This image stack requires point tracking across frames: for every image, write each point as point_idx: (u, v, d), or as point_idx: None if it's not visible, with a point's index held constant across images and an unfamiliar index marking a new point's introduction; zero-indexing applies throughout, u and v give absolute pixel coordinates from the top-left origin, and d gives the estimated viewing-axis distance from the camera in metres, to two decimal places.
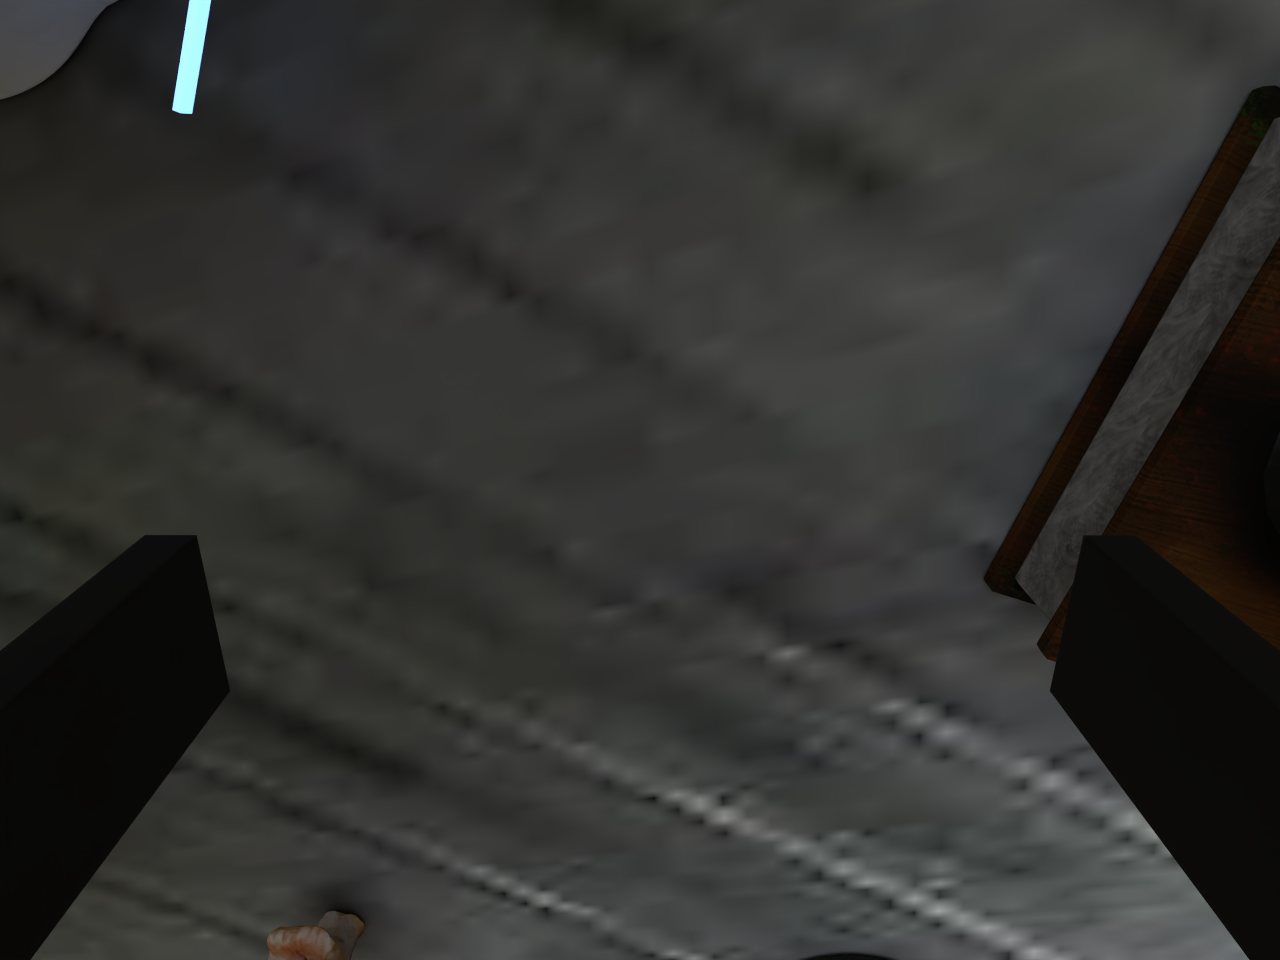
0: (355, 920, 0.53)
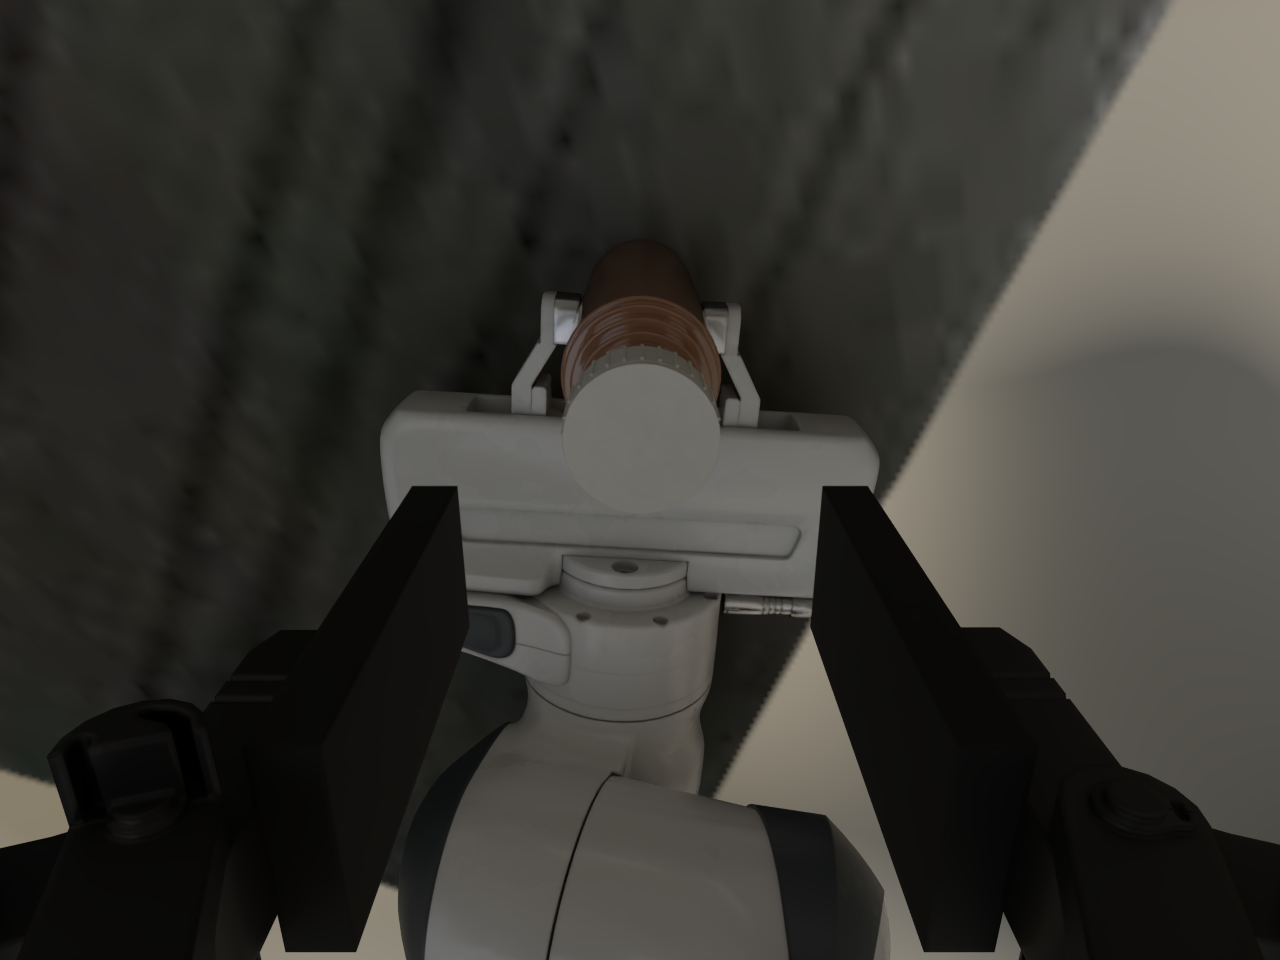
0: None
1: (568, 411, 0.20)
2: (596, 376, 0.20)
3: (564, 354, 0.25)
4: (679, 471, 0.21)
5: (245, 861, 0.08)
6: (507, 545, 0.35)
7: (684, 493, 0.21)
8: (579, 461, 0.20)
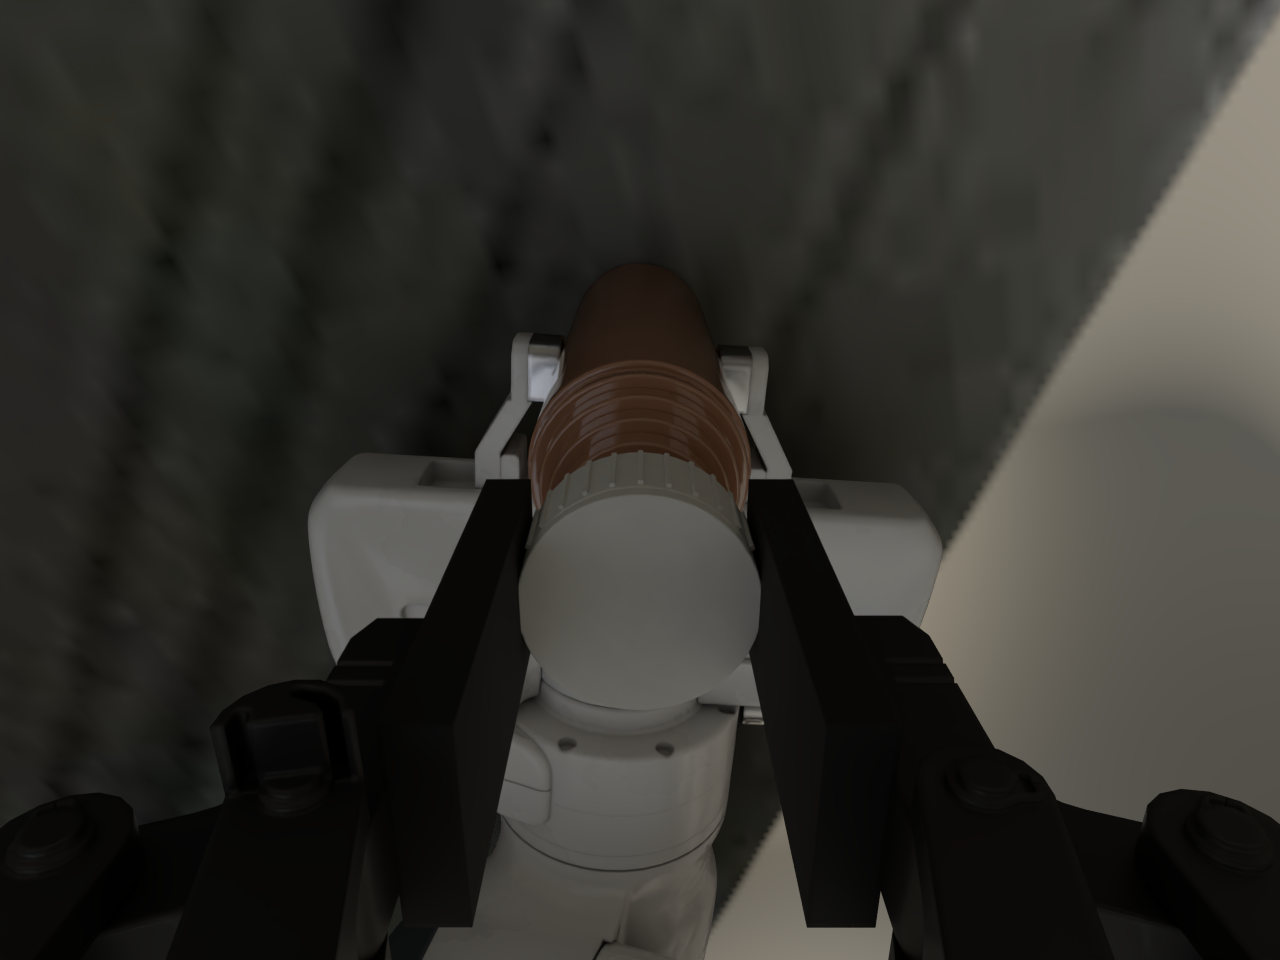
0: None
1: (525, 564, 0.13)
2: (568, 513, 0.12)
3: (532, 439, 0.18)
4: (698, 651, 0.13)
5: (379, 837, 0.08)
6: None
7: (705, 682, 0.14)
8: (543, 637, 0.13)
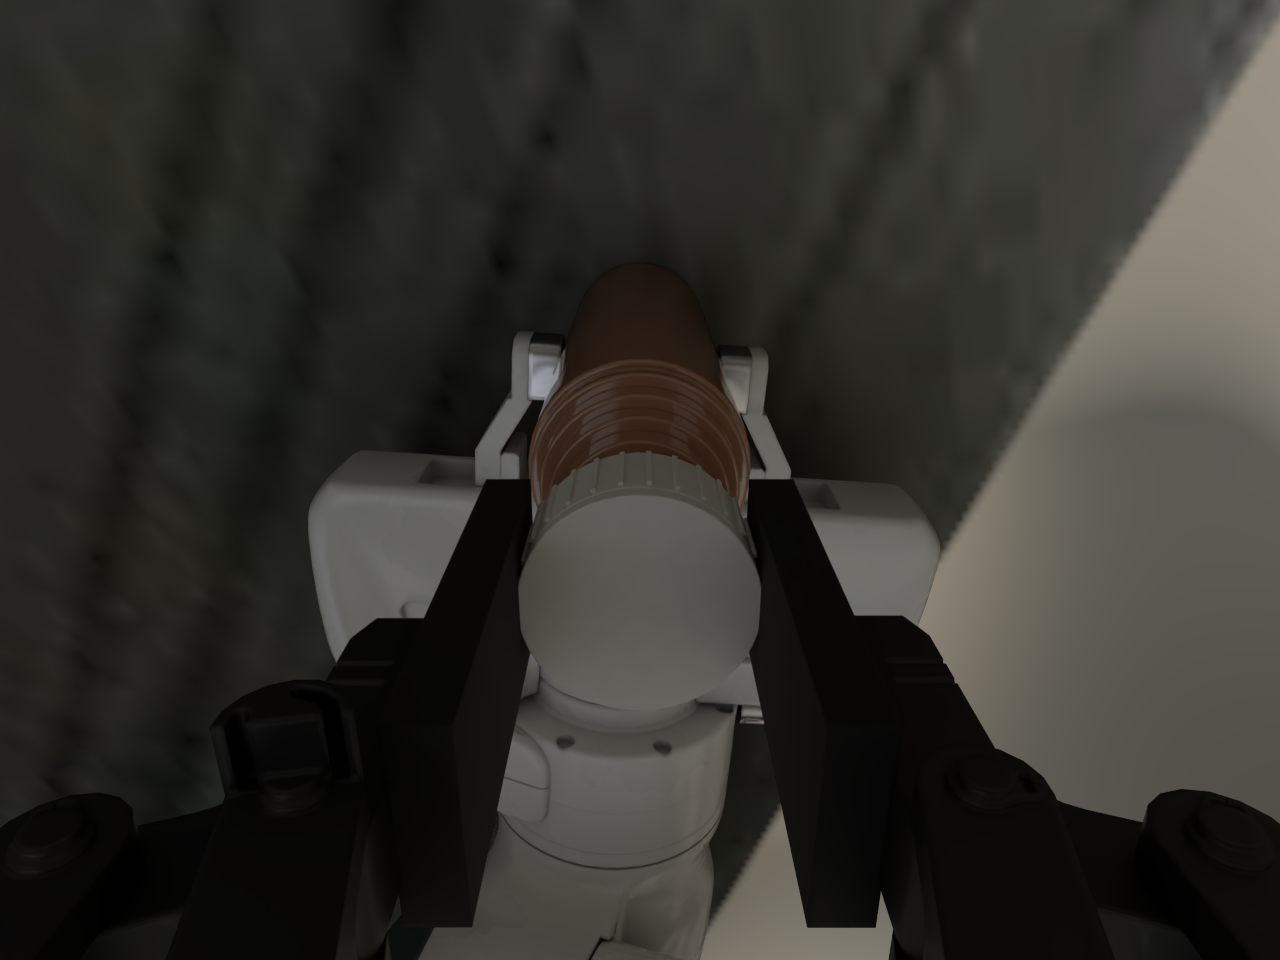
0: None
1: (587, 697, 0.14)
2: (536, 658, 0.13)
3: (533, 437, 0.18)
4: (695, 558, 0.13)
5: (379, 837, 0.08)
6: None
7: (734, 553, 0.13)
8: (665, 691, 0.14)
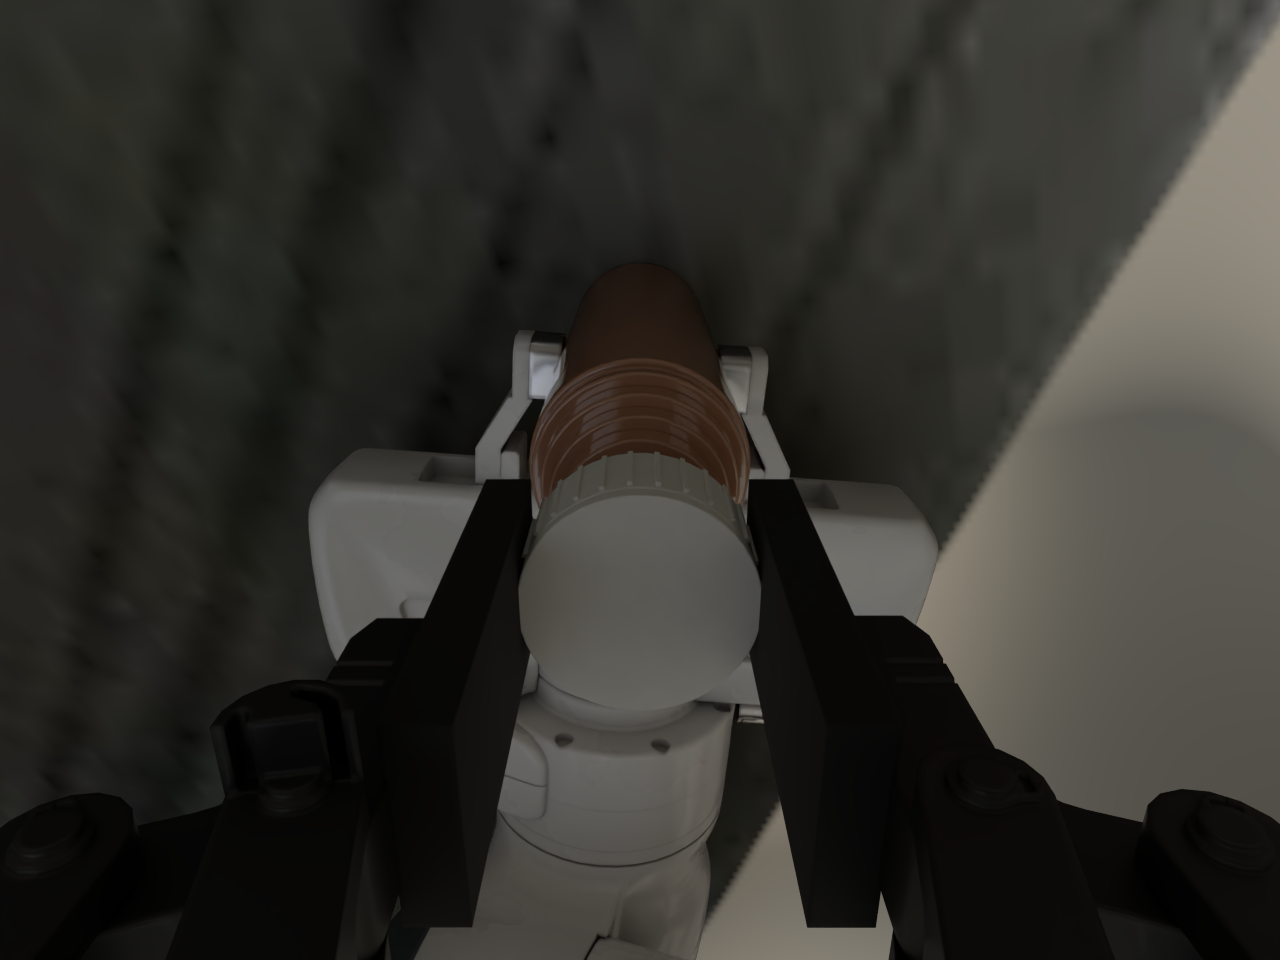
0: None
1: (741, 659, 0.13)
2: (690, 698, 0.14)
3: (534, 435, 0.18)
4: (585, 556, 0.13)
5: (379, 836, 0.08)
6: None
7: (581, 521, 0.12)
8: (741, 591, 0.13)
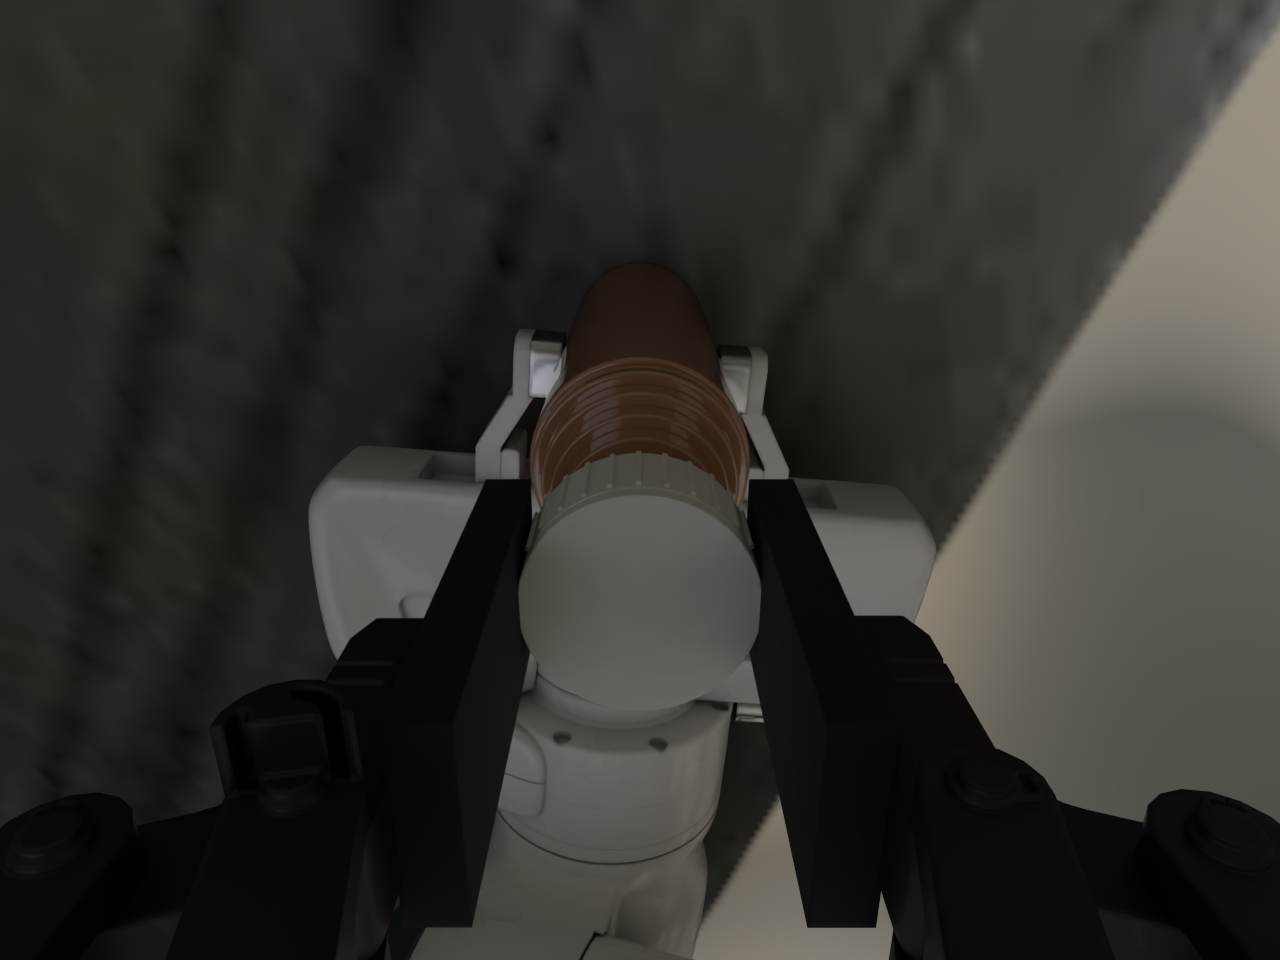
0: None
1: (711, 516, 0.12)
2: (755, 566, 0.13)
3: (535, 433, 0.18)
4: (579, 650, 0.13)
5: (379, 836, 0.08)
6: None
7: (542, 651, 0.13)
8: (626, 516, 0.12)
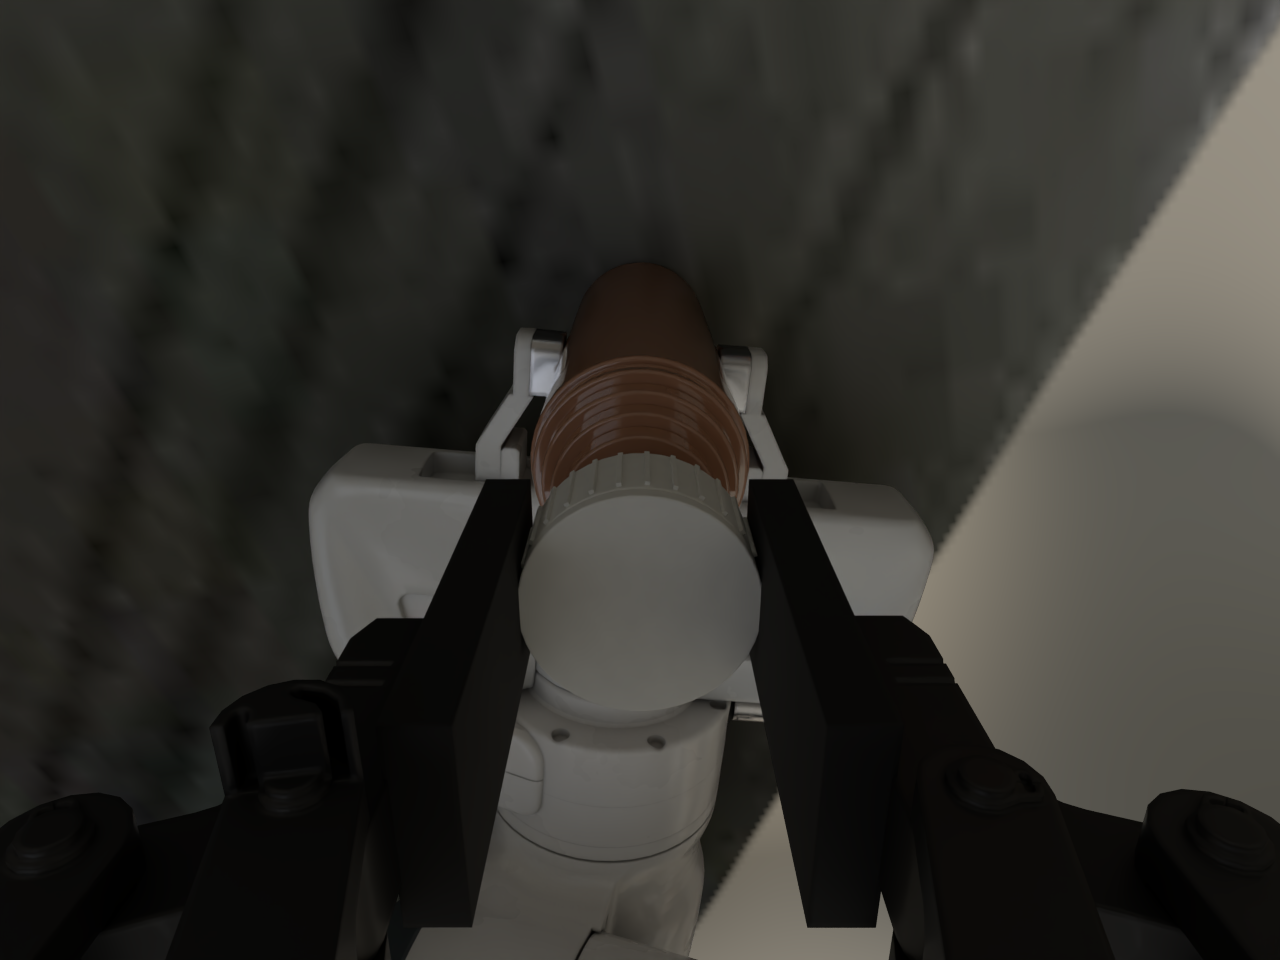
0: None
1: (541, 539, 0.13)
2: (600, 500, 0.12)
3: (536, 431, 0.19)
4: (682, 664, 0.13)
5: (378, 837, 0.08)
6: None
7: (680, 695, 0.14)
8: (537, 614, 0.13)
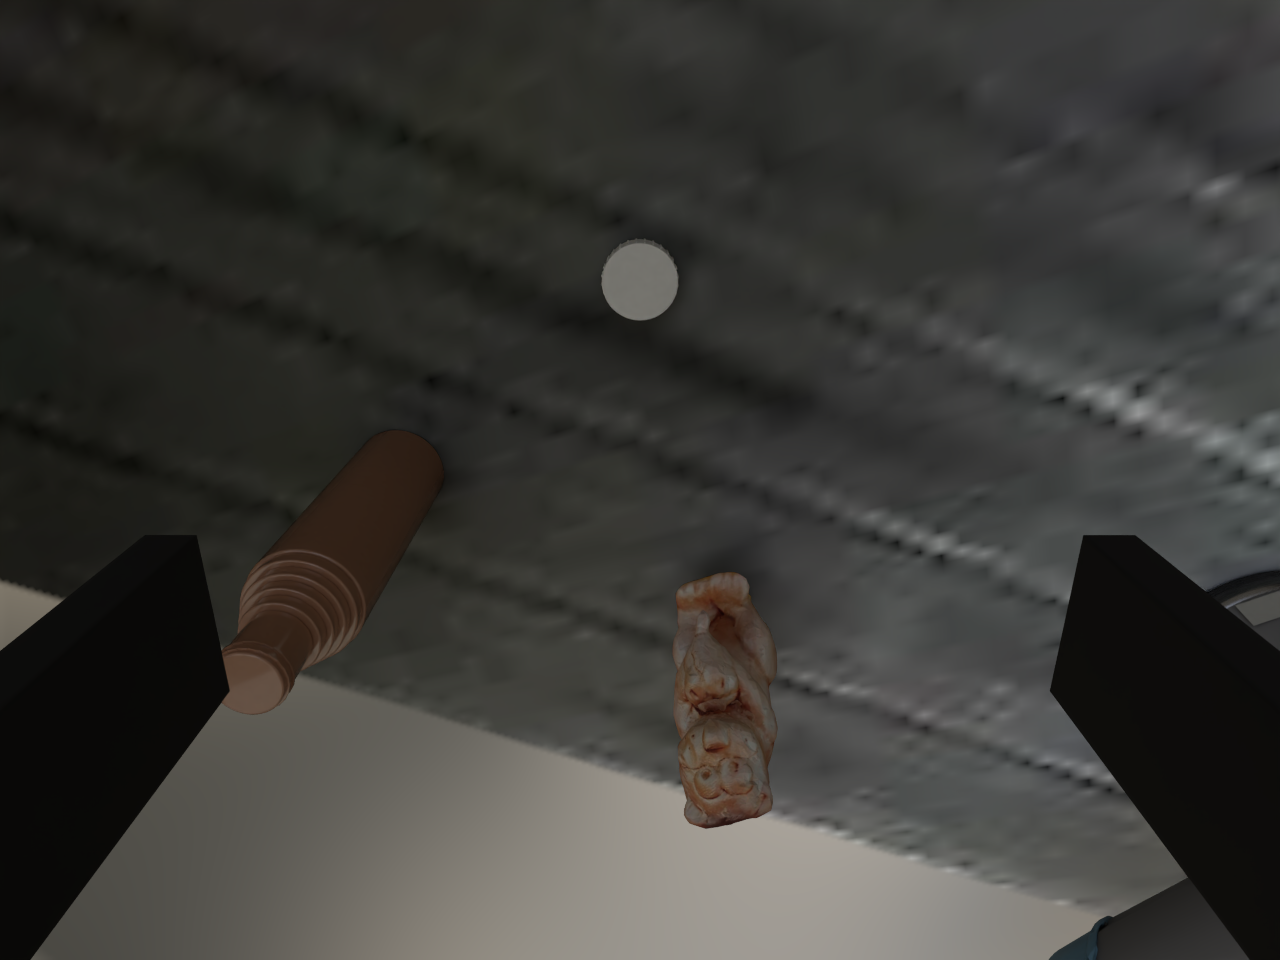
0: None
1: None
2: (603, 291, 0.42)
3: (312, 552, 0.33)
4: (661, 270, 0.42)
5: None
6: None
7: (672, 271, 0.42)
8: (639, 314, 0.43)
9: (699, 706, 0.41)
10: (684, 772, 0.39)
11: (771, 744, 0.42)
